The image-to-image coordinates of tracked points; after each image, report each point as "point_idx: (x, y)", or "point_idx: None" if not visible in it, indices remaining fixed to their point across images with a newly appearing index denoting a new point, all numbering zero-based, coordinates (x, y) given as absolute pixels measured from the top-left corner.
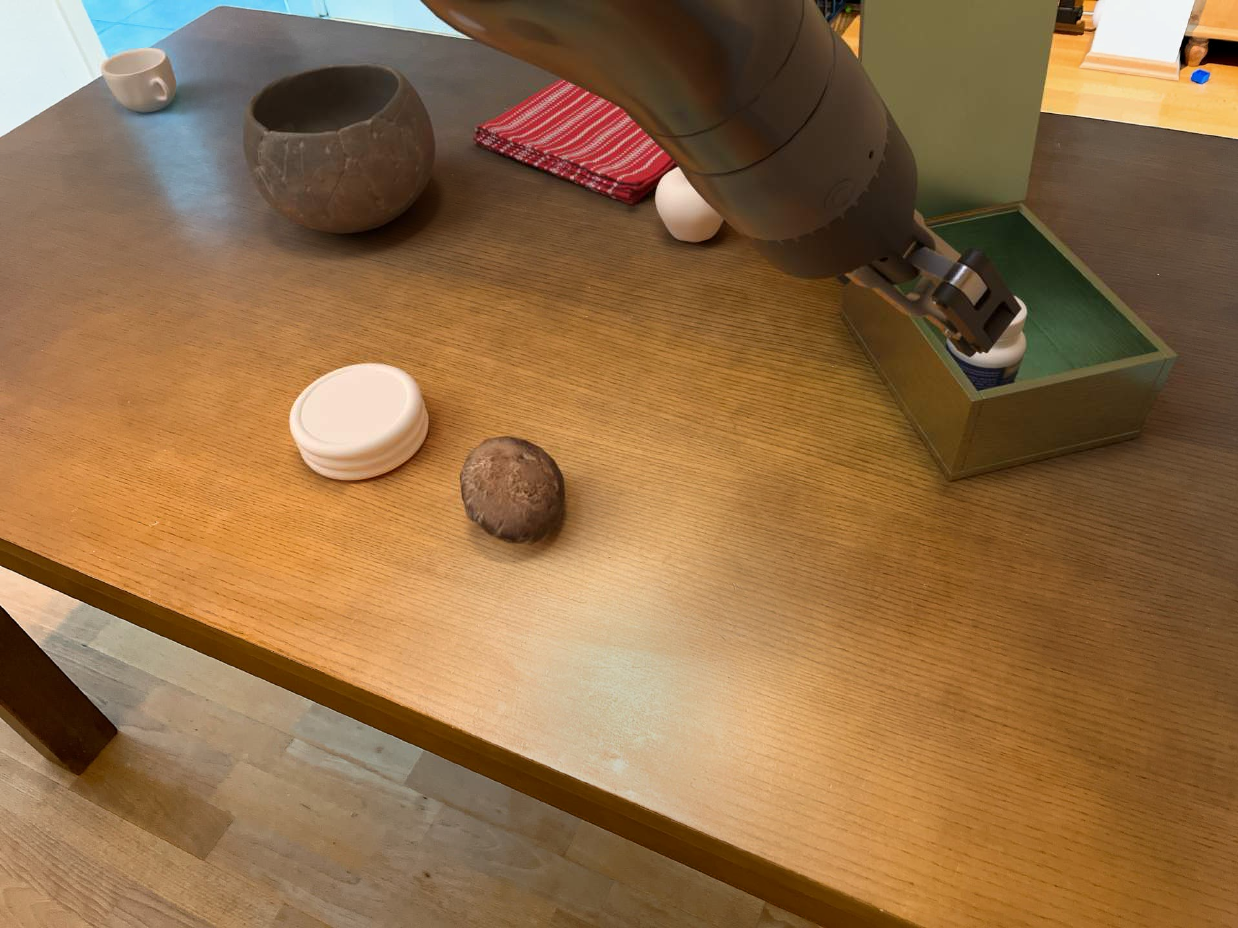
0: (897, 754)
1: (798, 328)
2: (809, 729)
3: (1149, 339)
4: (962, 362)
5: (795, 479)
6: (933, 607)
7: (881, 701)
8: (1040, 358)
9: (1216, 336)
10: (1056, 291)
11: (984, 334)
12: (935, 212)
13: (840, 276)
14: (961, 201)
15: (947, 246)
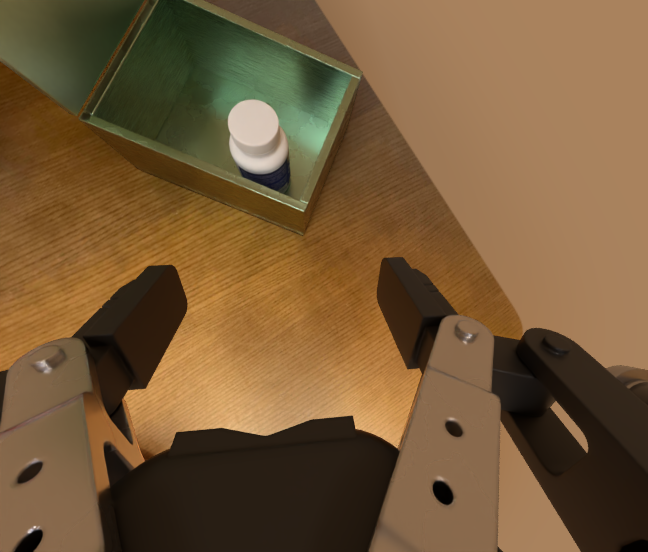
0: (409, 391)
1: (126, 201)
2: (375, 420)
3: (340, 69)
4: (262, 175)
5: (240, 308)
6: (360, 311)
7: (384, 377)
8: None
9: (322, 22)
10: (246, 56)
11: (580, 448)
12: (112, 40)
13: (177, 324)
14: (119, 12)
15: (497, 453)
